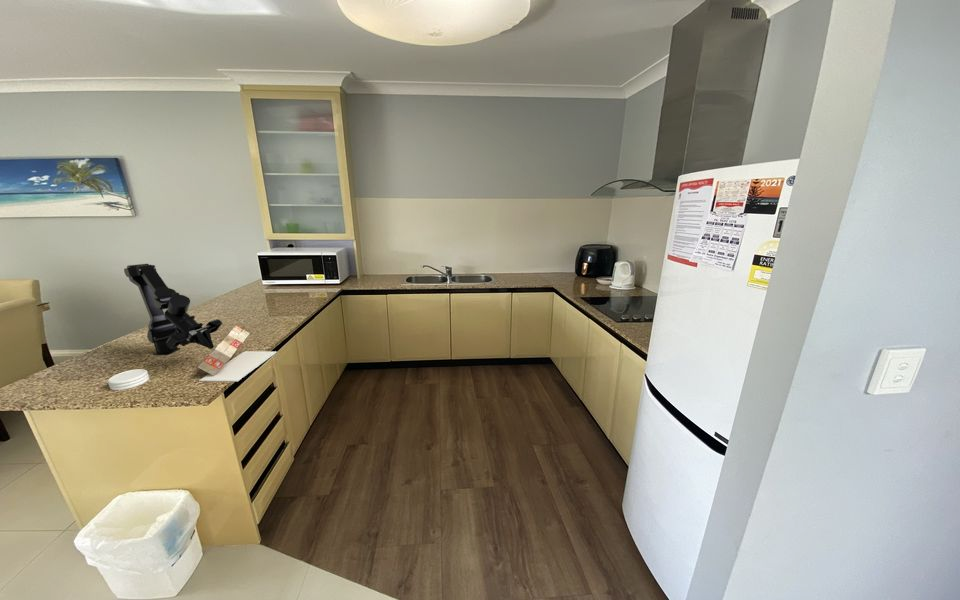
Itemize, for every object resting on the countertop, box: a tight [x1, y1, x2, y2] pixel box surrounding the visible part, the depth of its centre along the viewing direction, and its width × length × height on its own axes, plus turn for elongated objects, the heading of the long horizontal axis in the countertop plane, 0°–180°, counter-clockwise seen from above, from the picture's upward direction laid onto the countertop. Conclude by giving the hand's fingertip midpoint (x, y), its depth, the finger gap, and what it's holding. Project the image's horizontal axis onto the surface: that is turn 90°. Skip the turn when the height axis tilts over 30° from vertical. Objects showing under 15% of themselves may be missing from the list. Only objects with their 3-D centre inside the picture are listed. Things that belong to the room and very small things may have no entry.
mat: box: [198, 350, 277, 383], centre depth 132 cm, size 14×25×1 cm, turn 1°
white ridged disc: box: [107, 368, 150, 391], centre depth 117 cm, size 10×10×4 cm
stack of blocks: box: [197, 325, 250, 375], centre depth 131 cm, size 21×6×12 cm
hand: (212, 348), depth 128 cm, fingers closed
